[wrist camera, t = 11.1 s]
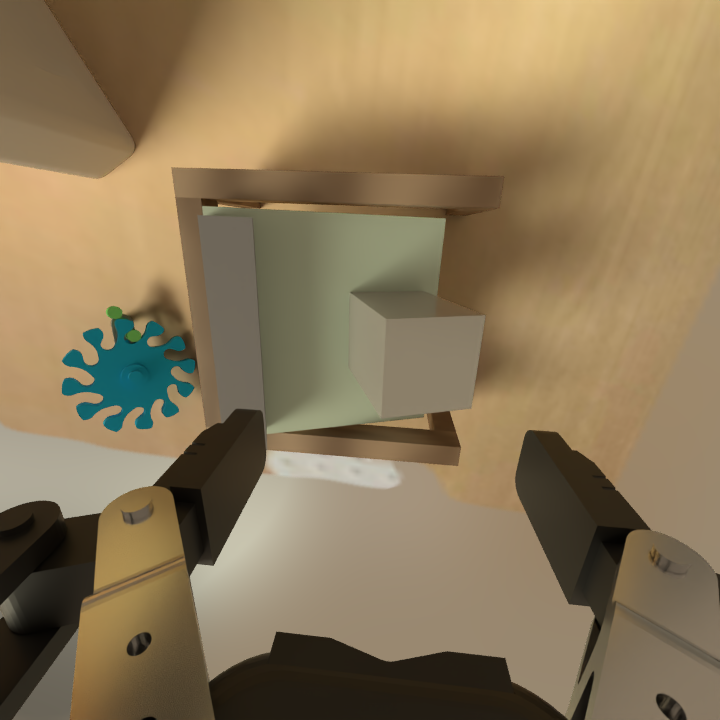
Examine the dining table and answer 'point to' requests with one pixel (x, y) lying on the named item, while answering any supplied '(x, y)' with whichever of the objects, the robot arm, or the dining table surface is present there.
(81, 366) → the teal piece
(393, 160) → the dining table surface
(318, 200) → the stand
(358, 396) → the trapdoor
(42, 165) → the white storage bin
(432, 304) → the small gray block
